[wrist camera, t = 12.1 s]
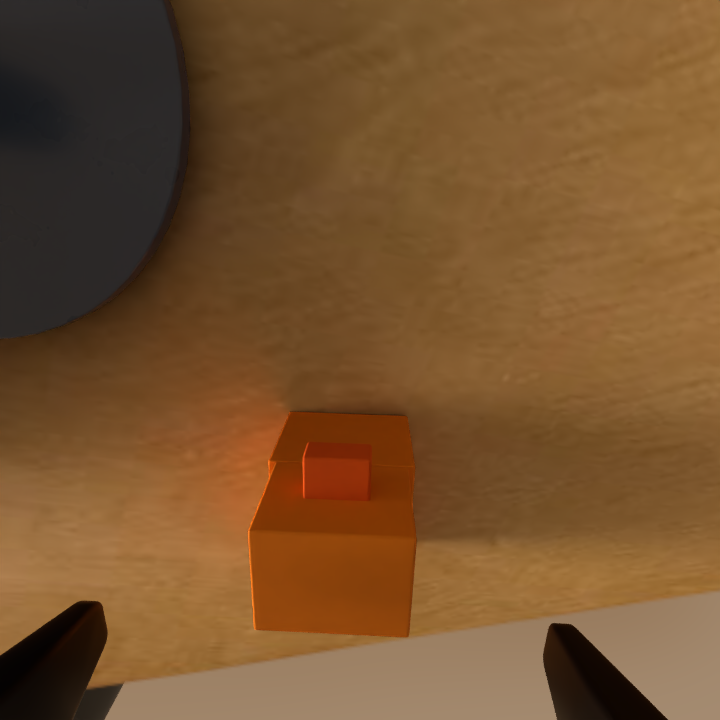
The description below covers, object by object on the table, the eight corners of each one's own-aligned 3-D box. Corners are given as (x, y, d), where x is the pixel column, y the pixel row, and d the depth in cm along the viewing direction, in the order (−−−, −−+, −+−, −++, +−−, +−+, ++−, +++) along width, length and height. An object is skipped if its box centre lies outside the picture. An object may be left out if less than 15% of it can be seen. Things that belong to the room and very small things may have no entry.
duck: (399, 542, 17) (411, 712, 11) (292, 537, 17) (250, 703, 11) (409, 384, 15) (430, 494, 9) (288, 380, 15) (233, 486, 9)
